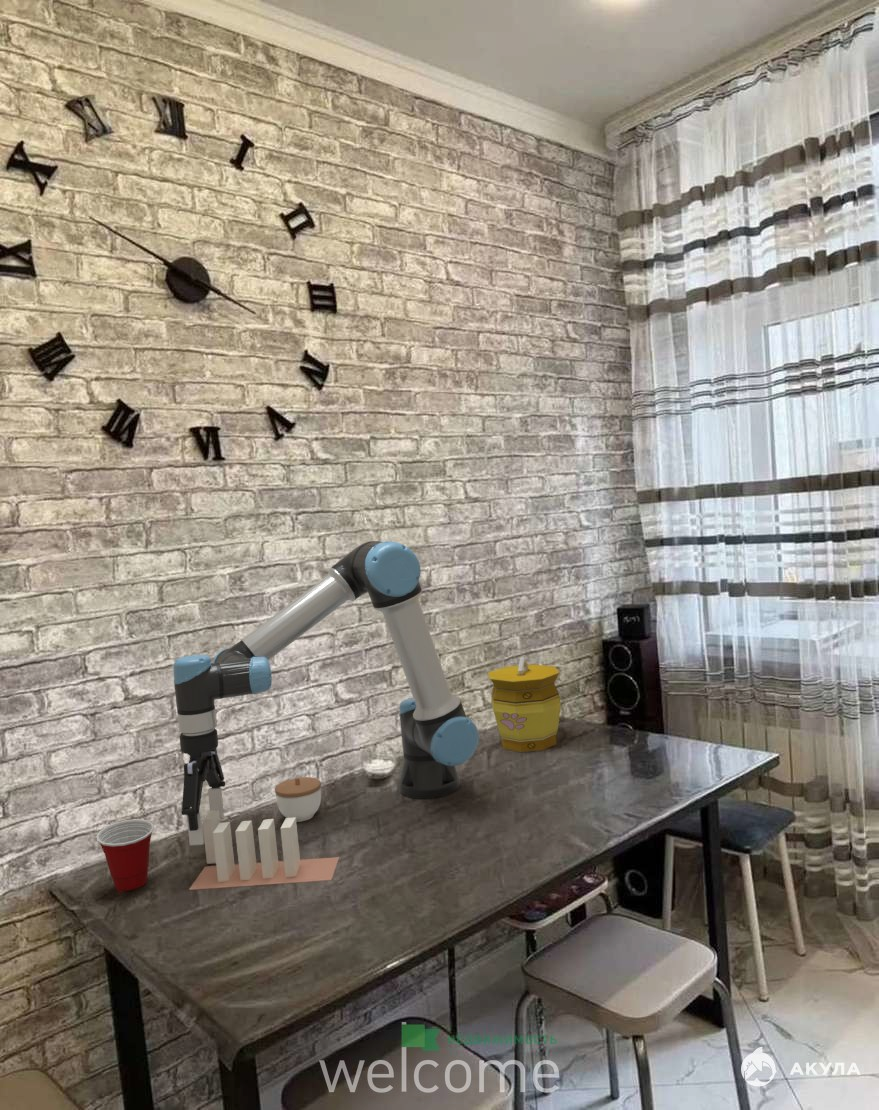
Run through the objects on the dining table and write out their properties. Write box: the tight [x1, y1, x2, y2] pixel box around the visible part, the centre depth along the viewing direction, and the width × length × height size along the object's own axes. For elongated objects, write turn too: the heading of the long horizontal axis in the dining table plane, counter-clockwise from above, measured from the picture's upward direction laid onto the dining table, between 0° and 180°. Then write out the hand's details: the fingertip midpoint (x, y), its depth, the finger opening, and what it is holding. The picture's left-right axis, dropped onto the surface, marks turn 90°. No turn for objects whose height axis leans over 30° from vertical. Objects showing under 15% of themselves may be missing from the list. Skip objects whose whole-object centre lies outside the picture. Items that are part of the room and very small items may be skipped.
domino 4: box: [257, 818, 279, 879], centre depth 166 cm, size 2×5×10 cm, turn 178°
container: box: [487, 656, 562, 753], centre depth 236 cm, size 21×21×25 cm
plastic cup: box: [95, 818, 155, 894], centre depth 166 cm, size 11×11×12 cm
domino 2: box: [213, 821, 235, 882], centre depth 166 cm, size 2×5×10 cm, turn 178°
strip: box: [188, 856, 340, 891], centre depth 166 cm, size 28×10×1 cm, turn 88°
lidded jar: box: [274, 776, 322, 823], centre depth 196 cm, size 11×11×9 cm
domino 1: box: [202, 810, 221, 865], centre depth 175 cm, size 2×5×10 cm, turn 179°
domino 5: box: [280, 817, 301, 877], centre depth 166 cm, size 2×5×10 cm, turn 178°
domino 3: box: [234, 820, 257, 880], centre depth 166 cm, size 2×5×10 cm, turn 178°
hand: (207, 830), depth 173 cm, fingers open, 13 cm apart
